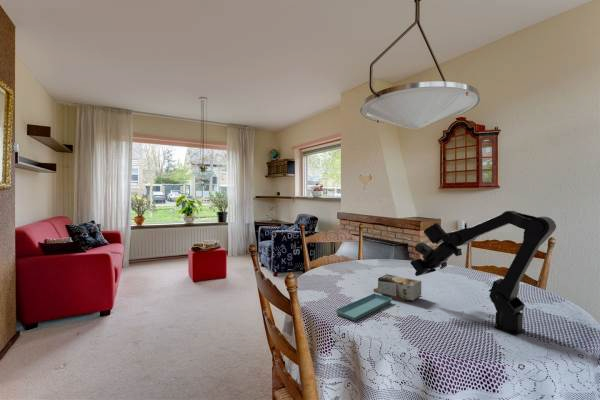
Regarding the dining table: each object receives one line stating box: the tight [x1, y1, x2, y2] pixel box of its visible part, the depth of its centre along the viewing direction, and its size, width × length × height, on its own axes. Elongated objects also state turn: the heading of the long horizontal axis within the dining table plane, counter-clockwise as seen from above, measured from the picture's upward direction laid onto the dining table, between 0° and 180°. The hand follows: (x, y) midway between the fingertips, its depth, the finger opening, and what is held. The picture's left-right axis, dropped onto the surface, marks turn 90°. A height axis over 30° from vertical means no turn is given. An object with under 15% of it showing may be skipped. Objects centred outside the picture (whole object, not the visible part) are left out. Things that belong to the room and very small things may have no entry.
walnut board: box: [373, 287, 410, 302], centre depth 133 cm, size 16×12×1 cm
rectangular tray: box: [335, 292, 393, 322], centre depth 116 cm, size 26×9×2 cm, turn 133°
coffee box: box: [377, 273, 422, 301], centre depth 129 cm, size 9×6×16 cm
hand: (415, 275), depth 125 cm, fingers closed
